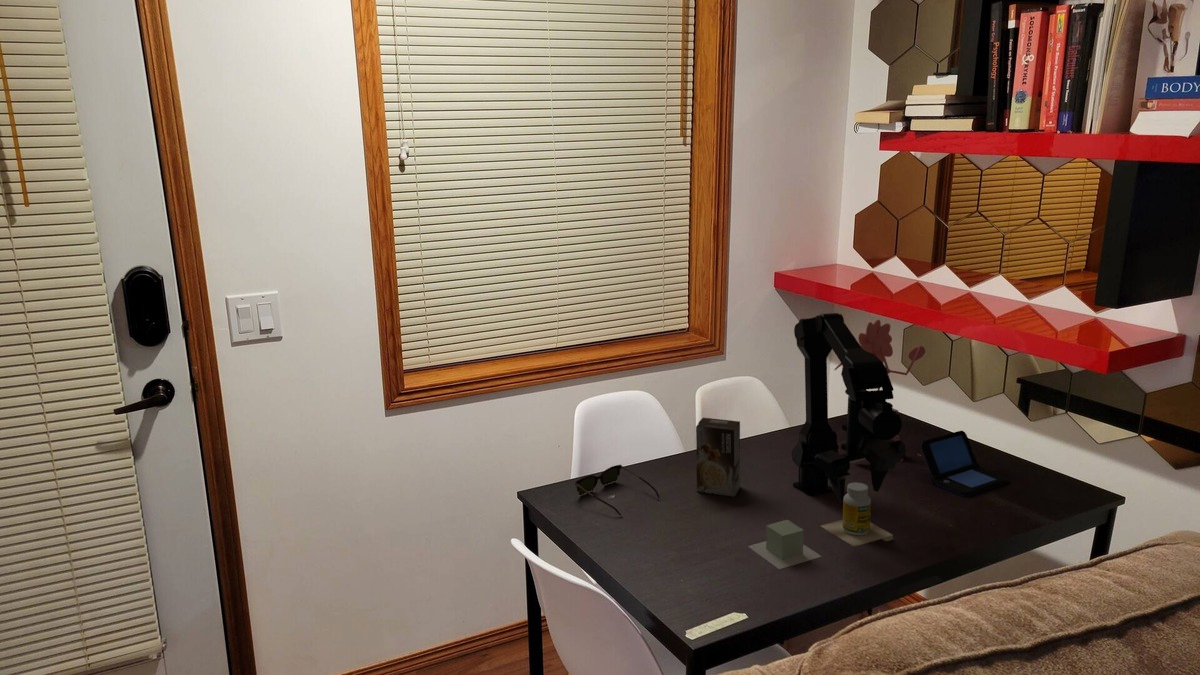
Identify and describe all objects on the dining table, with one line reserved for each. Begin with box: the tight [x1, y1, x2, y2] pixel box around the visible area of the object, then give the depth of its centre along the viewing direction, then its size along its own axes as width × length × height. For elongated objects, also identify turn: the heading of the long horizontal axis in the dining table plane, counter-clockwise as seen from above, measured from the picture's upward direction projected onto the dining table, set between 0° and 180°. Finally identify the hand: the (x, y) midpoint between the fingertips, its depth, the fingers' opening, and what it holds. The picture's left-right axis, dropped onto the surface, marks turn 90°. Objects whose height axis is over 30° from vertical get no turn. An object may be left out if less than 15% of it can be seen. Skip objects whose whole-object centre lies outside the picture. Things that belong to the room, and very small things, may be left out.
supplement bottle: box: [842, 482, 872, 536], centre depth 170 cm, size 5×5×10 cm
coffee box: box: [695, 417, 741, 497], centre depth 193 cm, size 9×6×16 cm
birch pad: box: [820, 519, 894, 548], centre depth 172 cm, size 10×10×1 cm
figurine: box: [833, 319, 926, 464], centre depth 207 cm, size 15×26×35 cm, turn 120°
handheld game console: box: [920, 430, 1009, 497], centre depth 195 cm, size 16×13×9 cm
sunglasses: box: [574, 464, 661, 516], centre depth 190 cm, size 14×15×5 cm
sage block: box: [765, 519, 805, 560], centre depth 163 cm, size 5×5×5 cm
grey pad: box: [747, 540, 823, 570], centre depth 164 cm, size 10×10×1 cm
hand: (858, 495), depth 169 cm, fingers open, 9 cm apart
